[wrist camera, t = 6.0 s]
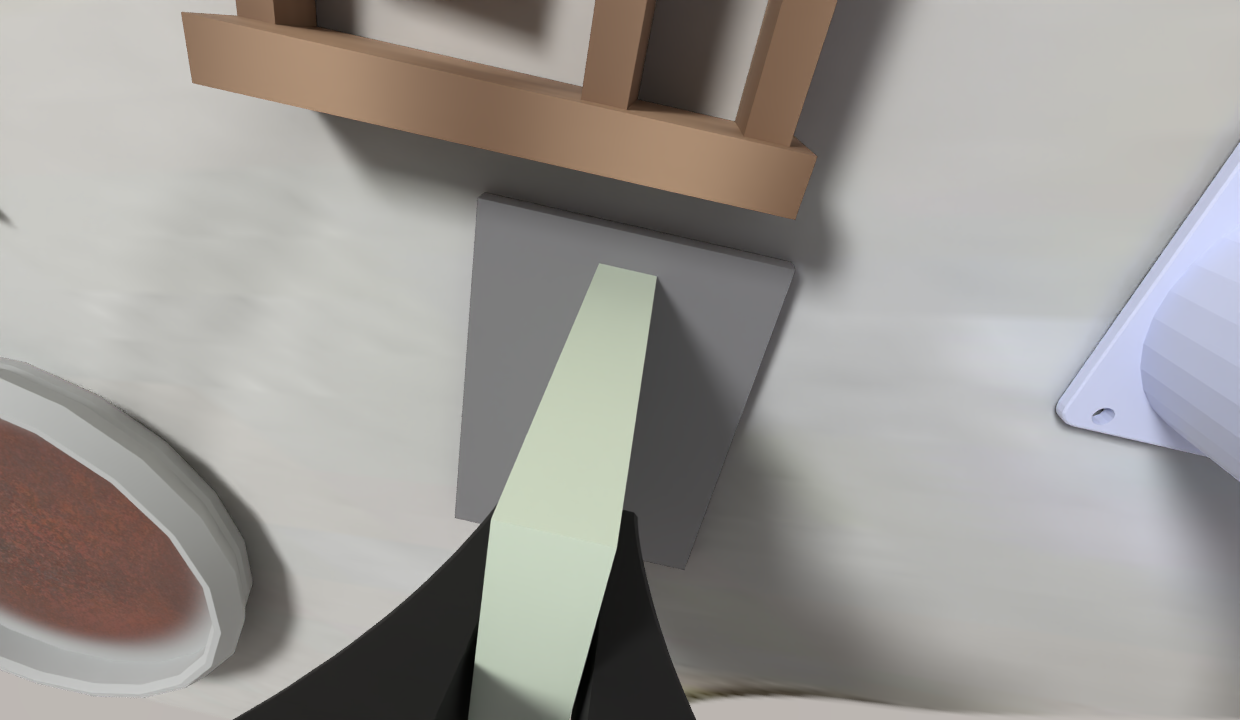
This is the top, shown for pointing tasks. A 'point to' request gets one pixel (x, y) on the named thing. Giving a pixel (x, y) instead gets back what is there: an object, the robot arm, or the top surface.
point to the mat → (673, 367)
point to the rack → (540, 97)
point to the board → (563, 511)
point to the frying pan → (108, 548)
